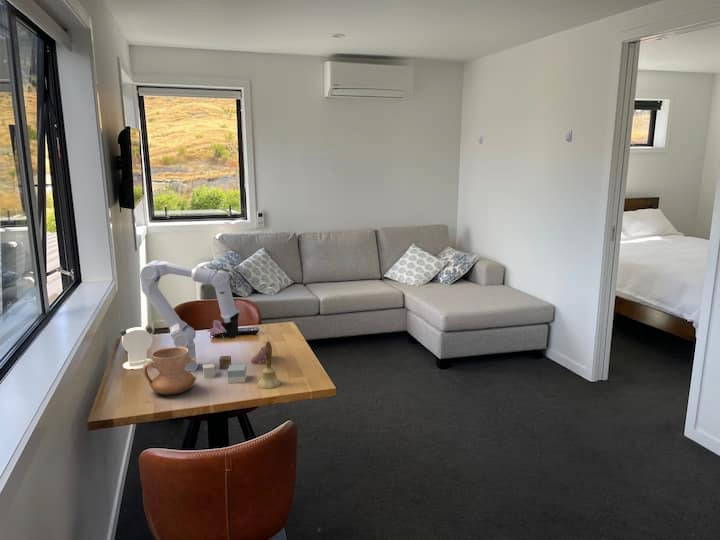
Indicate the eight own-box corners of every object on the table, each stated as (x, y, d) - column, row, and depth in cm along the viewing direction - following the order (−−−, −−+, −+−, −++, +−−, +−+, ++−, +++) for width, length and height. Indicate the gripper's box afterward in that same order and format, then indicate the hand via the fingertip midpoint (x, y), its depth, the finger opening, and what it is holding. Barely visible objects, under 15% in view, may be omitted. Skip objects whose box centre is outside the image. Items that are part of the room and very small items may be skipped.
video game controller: (259, 368, 214) (266, 353, 212) (249, 362, 214) (256, 348, 213) (268, 359, 224) (275, 345, 222) (258, 354, 224) (265, 340, 222)
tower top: (227, 377, 196) (227, 371, 195) (230, 371, 201) (229, 365, 201) (244, 376, 196) (244, 370, 196) (246, 370, 202) (245, 364, 202)
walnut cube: (219, 369, 209) (219, 359, 208) (221, 365, 213) (220, 356, 212) (230, 369, 210) (229, 359, 209) (231, 365, 214) (230, 355, 213)
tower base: (228, 384, 196) (227, 377, 196) (230, 377, 202) (229, 371, 201) (244, 383, 197) (244, 376, 196) (246, 376, 203) (246, 370, 202)
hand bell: (266, 378, 200) (264, 337, 197) (285, 381, 197) (283, 340, 194) (252, 386, 193) (250, 344, 190) (272, 390, 189) (270, 347, 186)
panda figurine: (153, 357, 223) (150, 322, 220) (157, 365, 213) (153, 329, 210) (121, 362, 218) (118, 326, 215) (124, 371, 208) (120, 334, 205)
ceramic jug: (200, 380, 199) (197, 343, 196) (196, 395, 185) (192, 356, 182) (149, 385, 196) (145, 347, 193) (141, 401, 182) (136, 361, 179)
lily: (238, 337, 251) (231, 318, 253) (234, 335, 240) (227, 315, 241) (213, 347, 250) (207, 327, 251) (208, 345, 238) (201, 325, 240)
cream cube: (204, 378, 201) (203, 368, 200) (203, 374, 204) (202, 364, 203) (215, 377, 202) (214, 366, 201) (214, 373, 206) (213, 363, 205)
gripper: (234, 304, 200) (242, 338, 202) (238, 295, 214) (246, 327, 217) (215, 308, 199) (223, 342, 202) (220, 299, 213) (228, 331, 216)
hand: (234, 335), depth 209 cm, fingers open, 7 cm apart
